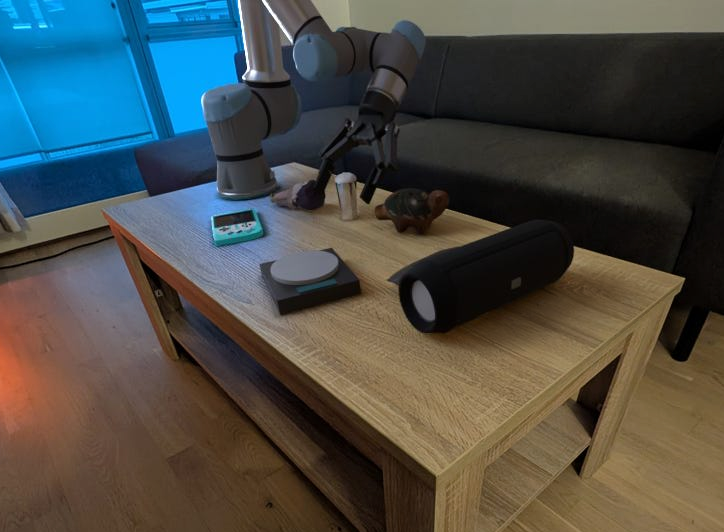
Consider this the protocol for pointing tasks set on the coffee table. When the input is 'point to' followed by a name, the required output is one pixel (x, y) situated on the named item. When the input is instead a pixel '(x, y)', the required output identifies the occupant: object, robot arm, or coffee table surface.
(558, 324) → the coffee table surface
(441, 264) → the portable speaker
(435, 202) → the decorative turtle
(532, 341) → the coffee table surface
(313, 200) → the figurine
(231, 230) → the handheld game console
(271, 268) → the scale
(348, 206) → the milkshake
